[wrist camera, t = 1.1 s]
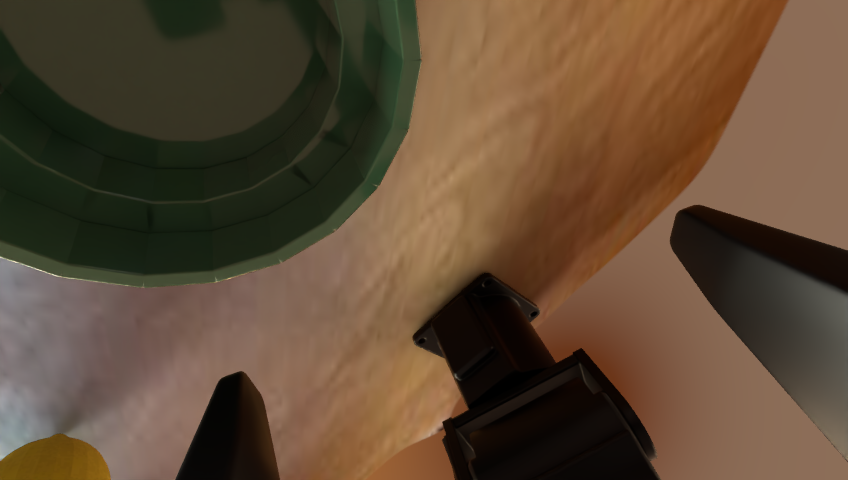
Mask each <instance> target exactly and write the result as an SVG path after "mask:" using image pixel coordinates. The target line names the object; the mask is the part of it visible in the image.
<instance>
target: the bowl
mask: <svg viewBox="0 0 848 480" xmlns="http://www.w3.org/2000/svg"><path fill="white" fill-rule="evenodd" d="M421 58H422V54H421V45H420V36H419V26H418V17H417V8H416V0H0V257H1V258H4V259H7V260H10V261H13V262H16V263H19V264H22V265H25V266H28V267H31V268H34V269H36V270H39V271H42V272H45V273H48V274H51V275H54V276H57V277H60V276H61V277H63V278H70V279H77V280H85V281H93V282H100V283H108V284H116V285H124V286H131V287H139V288H142V287H144V288H152V287H165V286H179V285H192V284H205V283H216V282H220V281H224V280H227V279H230V278H234V277H237V276H240V275H244V274H247V273H250V272H253V271H257V270H260V269H263V268H267V267H270V266H273V265H277V264H280V263H281V262H284V261H286V260H287V259H289V258H291V257H292V256H294V255H296V254H298V253H299V252H301V251H303V250H304V249H306V248H308V247H309V246H311V245H313V244H315V243H316V242H318V241H320V240H321V239H323V238H325V237H326V236H328V235H330V234H331V233H333V232H334V231H335V230H337V229H338V228H339V227H340V226H341V225H342V224H343V223H344V222H345V221H346V220H347V219H348V218H349V217H350V216H351V215H352V214H353V213H354V212H355V211H356V210H357V209H358V208H359V206H360V205H361V204H362V203H363V202H364V201H365V200H366V199H367V198H368V197H369V196H370V195H371V194H372V193H373V192H374V191H375V190H376V189H377V188H378V186H379V185H380V183H381V181H382V180H383V178H384V176H385V174H386V172H387V170H388V168H389V166H390V164H391V162H392V161H393V159H394V157H395V155H396V153H397V151H398V149H399V147H400V145H401V143H402V141H403V140H404V138H405V136H406V134H407V132H408V129H409V127H410V121H411V116H412V111H413V105H414V100H415V95H416V89H417V84H418V79H419V74H420V68H421V63H422V59H421Z"/></svg>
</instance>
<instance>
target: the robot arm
mask: <svg viewBox="0 0 848 480" xmlns="http://www.w3.org/2000/svg"><path fill="white" fill-rule="evenodd" d="M670 244H671V247H672V250H673V252H674V253H675V254H676V256H677V257H678V259H679V260H680V262H681V263H682V264H683V266H684V267H685V269H686V270H687V271H688V273H689V274H690V276H691V277H692V278H693V280H694V281H695V283H696V284H697V286H698V287H699V288H700V290H701V291H702V293H703V294H704V296H705V297H706V298H707V300H708V301H709V302H710V304H711V305H712V306H713V308H714V309H715V310H716V311H717V313H718V314H719V315H720V316H721V317H722V319H723V320H724V321H725V322H726V323H727V324H728V325H729V327H730V328H731V329H732V330H733V331H734V332H735V333H736V335H737V336H738V337H739V338H740V339H741V340H742V342H743V343H744V344H745V345H746V346H747V347H748V348H749V349H750V351H751V352H752V353H753V354H754V355H755V356H756V357H757V359H758V360H759V361H760V362H761V363H762V364H763V366H764V367H765V368H766V369H767V370H768V371H769V372H770V374H771V375H772V376H773V377H774V378H775V379H776V380H777V382H778V383H779V384H780V385H781V386H782V387H783V388H784V390H785V391H786V392H787V393H788V394H789V395H790V396H791V398H792V399H793V400H794V401H795V402H796V403H797V405H798V406H799V407H800V408H801V409H802V410H803V411H804V413H805V414H806V415H807V416H808V417H809V418H810V419H811V421H812V422H813V423H814V424H815V425H816V426H817V427H818V428H819V430H820V431H821V432H822V433H823V434H824V435H825V437H826V438H827V439H828V440H829V441H830V442H831V443H832V445H833V446H834V447H835V448H836V449H837V450H838V451H839V453H840V454H841V455H842V456H843V457H844V458H845V460H846V461H847V462H848V250H844V249H841V248H837V247H835V246H831V245H828V244H825V243H822V242H819V241H815V240H812V239H809V238H805V237H802V236H799V235H796V234H793V233H789V232H786V231H783V230H780V229H776V228H773V227H770V226H767V225H763V224H760V223H757V222H754V221H750V220H747V219H744V218H741V217H738V216H734V215H731V214H728V213H725V212H721V211H718V210H715V209H712V208H709V207H705V206H702V205H693V206H690V207H687V208H685V209H682V210H680V211H679V212H678V213H677V214H676V216H675V220H674V225H673V228H672V233H671V237H670ZM539 314H540V310H539V308H538V307H537V305H536V304H534V303H533V302H531V301H530V300H528V299H527V298H525V297H524V296H523V295H521V294H520V293H518V292H517V291H515V290H514V289H512V288H511V287H510V286H508V285H507V284H505V283H504V282H502V281H501V280H499V279H498V278H496V277H495V276H494V275H492V274H491V273H484V274H482V275H480V276H479V277H478V278H477V279H476V280H474V281H473V282H472V283H471V284H470V285H469V286H468V287H467V288H465V289H464V290H463V291H462V292H461V293H460V294H459V295H458V296H456V297H455V298H454V299H453V300H452V301H451V302H450V303H449V304H448V305H446V306H445V307H444V308H443V309H442V310H441V311H440V312H439V313H437V314H436V315H435V316H434V317H433V318H432V319H431V320H430V321H428V322H427V323H426V324H425V325H424V326H423V327H422V328H421V329H419V330H418V331H417V332H416V333H415V334H414V335H413V341H414V343H415V345H416V346H418V347H420V348H423V349H425V350H427V351H429V352H432V353H434V354H436V355H438V356H441V357H443V358H445V360H446V362H447V364H448V366H449V368H450V371H451V373H452V375H453V377H454V380H455V382H456V384H457V386H458V388H459V391H460V393H461V395H462V397H463V399H464V402H465V404H466V406H467V408H468V410H467V411H465V412H464V413H462V414H460V415H458V416H456V417H454V418H449V419H447V420H445V421H443V426H444V429H445V432H446V435H445V436H444V438H443V440H442V441H443V444H444V446H445V449H446V451H447V454H448V457H449V459H450V462H451V465H452V468H453V473H454V478H455V480H661V479H660V477H659V475H658V474H657V472H656V471H655V469H654V467H653V466H652V464H651V462H650V461H652V460H654V459H656V458H657V452H656V449H655V447H654V445H653V442H652V441H651V438H650V436H649V435H648V433H647V431H646V429H645V428H644V426H643V424H642V423H641V421H640V419H639V418H638V417H637V415H636V414H635V412H634V410H633V409H632V408H631V406H630V405H629V403H628V402H627V401H626V400H625V398H624V397H623V396H622V395H621V394H620V392H619V391H618V390H617V389H616V388H615V387H614V385H613V384H612V383H611V382H610V381H609V380H608V378H607V377H606V376H605V375H604V374H603V373H602V371H601V370H600V369H599V368H598V367H597V365H596V364H595V363H594V362H593V361H592V360H591V358H590V357H589V356H588V355H587V354H586V353H585V351H584V350H583V349H582V348H580V349H578V350H576V351H575V352H573V355H571V356H569V357H567V358H565V359H563V360H562V361H559V362H558V363H556V362H555V360H554V359H553V357H552V356H551V354H550V353H549V351H548V350H547V348H546V347H545V345H544V343H543V342H542V340H541V339H540V337H539V336H538V334H537V333H536V331H535V329H534V328H533V326H532V325H531V323H530V322H531V321H532V320H534V319H535V318H536V317H537V316H538V315H539ZM175 480H280V478H279V472H278V467H277V462H276V457H275V453H274V448H273V443H272V438H271V433H270V428H269V424H268V419H267V414H266V409H265V405H264V401H263V398H262V396H261V394H260V392H259V391H258V390H257V388H256V387H255V385H254V384H253V383H252V381H251V380H250V379H249V377H248V376H247V374H246V373H244V372H242V371H240V372H236V373H233V374H231V375H228V376H225V377H223V378H221V379H220V380H219V382H218V383H217V386H216V388H215V390H214V393H213V395H212V397H211V399H210V402H209V404H208V406H207V408H206V411H205V413H204V415H203V418H202V420H201V422H200V424H199V427H198V429H197V431H196V434H195V436H194V438H193V440H192V443H191V445H190V447H189V450H188V452H187V454H186V456H185V459H184V461H183V463H182V465H181V468H180V470H179V472H178V475H177V477H176V479H175Z"/></svg>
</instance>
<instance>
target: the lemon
mask: <svg viewBox="0 0 848 480" xmlns="http://www.w3.org/2000/svg"><path fill="white" fill-rule="evenodd" d="M0 480H111V479H110V473H109V469H108V466H107V464H106V462H105V460H104V459H103V457H102V455H101V454H100V453H99V452H98V451H97V450H96V449H95V448H94V447H92V446H91V445H90V444H88V443H86V442H84V441H81V440H78V439H75V438H70V437H68V436H66V435H65V434H55V435H53V436H51V437H50V438H45V439H41V440H37V441H34V442H31V443H28V444H26V445H24V446H22V447H20V448H18V449H16V450H14V451H13V452H12V453H10V454H9V455H7V456H6V457H5V458H4V459H2V460H1V461H0Z"/></svg>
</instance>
